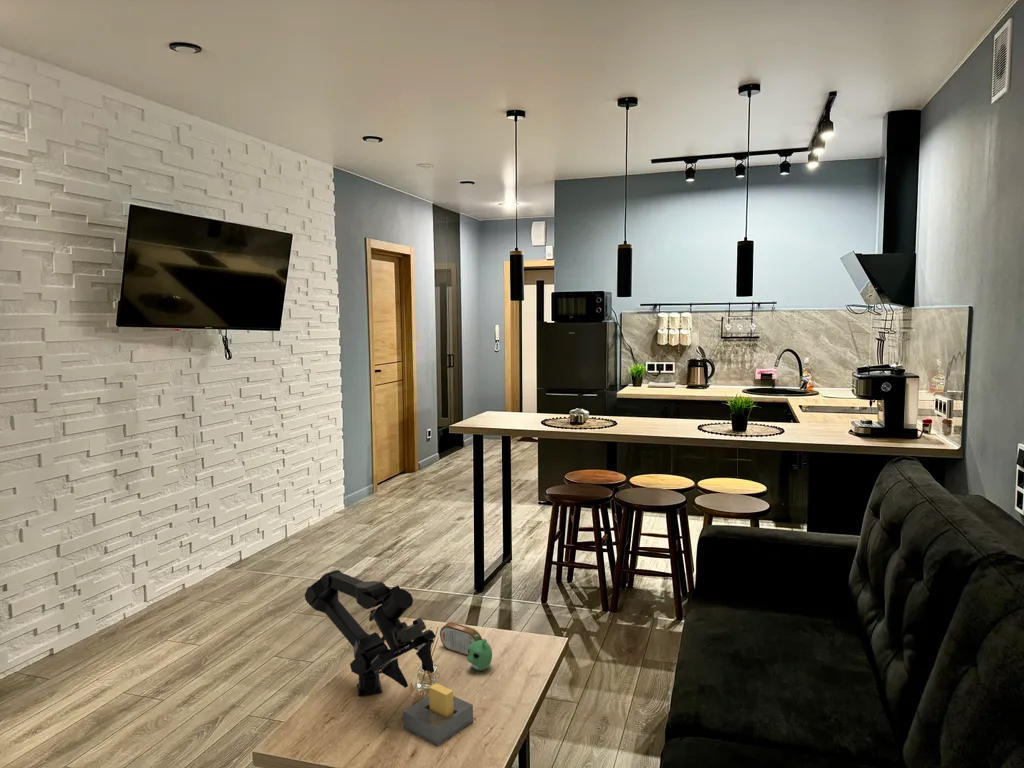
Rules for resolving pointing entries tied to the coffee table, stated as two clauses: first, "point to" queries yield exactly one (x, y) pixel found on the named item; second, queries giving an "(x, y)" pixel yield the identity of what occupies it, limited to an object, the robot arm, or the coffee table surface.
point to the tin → (458, 637)
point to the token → (441, 700)
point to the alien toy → (479, 654)
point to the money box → (437, 720)
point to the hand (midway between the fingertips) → (420, 679)
